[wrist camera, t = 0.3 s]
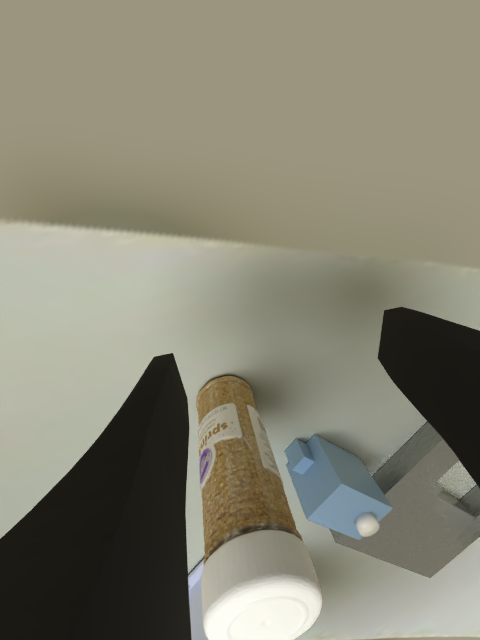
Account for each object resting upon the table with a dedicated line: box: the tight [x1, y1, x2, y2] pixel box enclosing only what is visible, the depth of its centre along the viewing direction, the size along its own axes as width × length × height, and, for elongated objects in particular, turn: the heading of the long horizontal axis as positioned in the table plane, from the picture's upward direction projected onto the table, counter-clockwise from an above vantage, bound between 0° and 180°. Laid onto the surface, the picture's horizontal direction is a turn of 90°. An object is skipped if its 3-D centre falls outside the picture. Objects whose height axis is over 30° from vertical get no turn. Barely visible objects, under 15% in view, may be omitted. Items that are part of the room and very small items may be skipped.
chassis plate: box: [330, 422, 480, 578], centre depth 30 cm, size 18×16×2 cm
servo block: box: [285, 434, 393, 540], centre depth 24 cm, size 4×7×6 cm, turn 54°
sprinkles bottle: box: [196, 376, 322, 640], centre depth 17 cm, size 5×5×13 cm
